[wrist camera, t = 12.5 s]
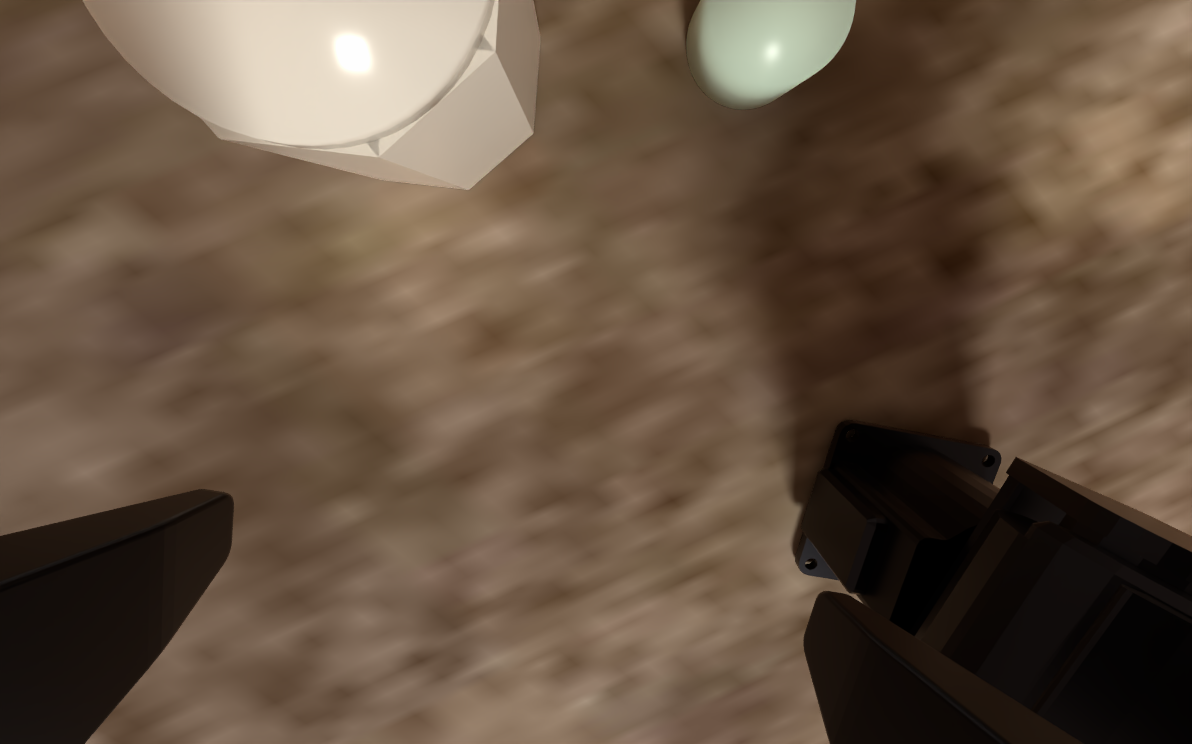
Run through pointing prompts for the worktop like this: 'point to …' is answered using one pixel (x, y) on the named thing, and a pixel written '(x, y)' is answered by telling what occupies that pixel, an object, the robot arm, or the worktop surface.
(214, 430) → the worktop surface
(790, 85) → the pale green rounded knob
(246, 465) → the worktop surface
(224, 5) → the tumbler
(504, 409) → the worktop surface
